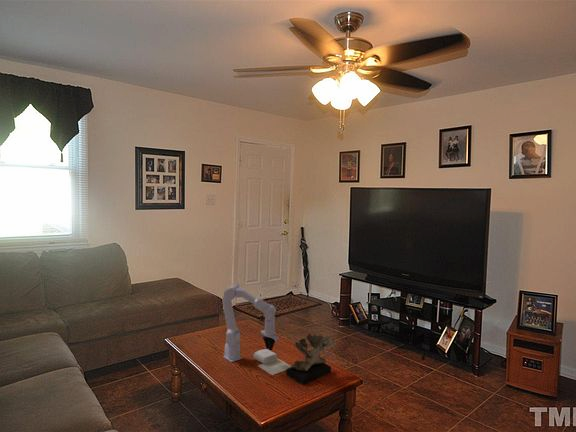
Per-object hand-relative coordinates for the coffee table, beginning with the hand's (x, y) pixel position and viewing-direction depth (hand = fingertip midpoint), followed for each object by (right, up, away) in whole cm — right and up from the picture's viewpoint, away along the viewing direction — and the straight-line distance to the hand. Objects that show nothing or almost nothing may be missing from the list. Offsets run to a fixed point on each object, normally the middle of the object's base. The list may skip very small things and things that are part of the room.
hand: (269, 349), depth 220 cm
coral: (+26, -10, -13) cm, 30 cm away
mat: (+4, -9, -4) cm, 10 cm away
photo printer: (+1, -6, 0) cm, 6 cm away
